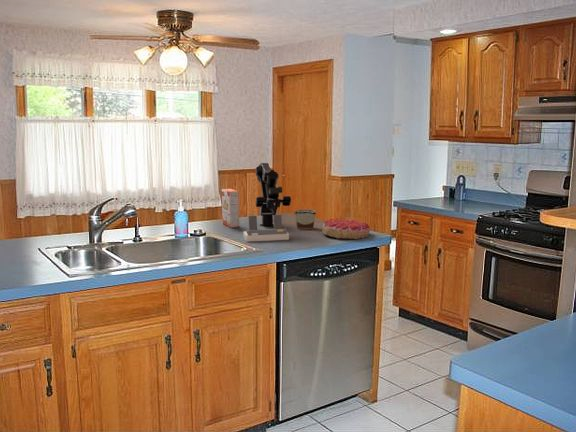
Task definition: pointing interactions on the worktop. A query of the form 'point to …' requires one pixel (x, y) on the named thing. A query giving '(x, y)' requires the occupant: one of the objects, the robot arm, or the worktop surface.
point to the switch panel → (266, 235)
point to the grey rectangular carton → (277, 221)
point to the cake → (345, 228)
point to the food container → (305, 218)
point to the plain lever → (252, 222)
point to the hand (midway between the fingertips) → (275, 214)
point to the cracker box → (230, 207)
